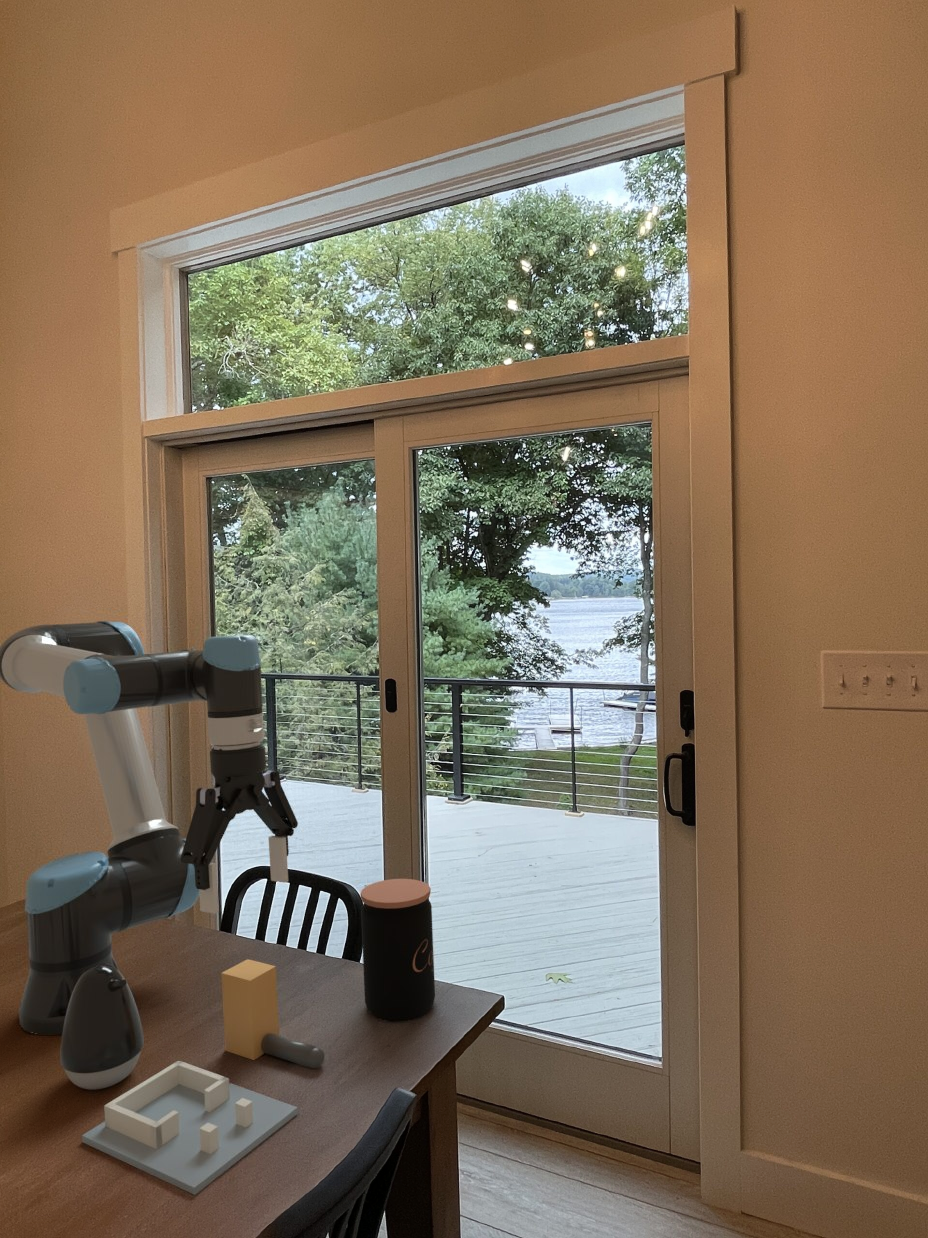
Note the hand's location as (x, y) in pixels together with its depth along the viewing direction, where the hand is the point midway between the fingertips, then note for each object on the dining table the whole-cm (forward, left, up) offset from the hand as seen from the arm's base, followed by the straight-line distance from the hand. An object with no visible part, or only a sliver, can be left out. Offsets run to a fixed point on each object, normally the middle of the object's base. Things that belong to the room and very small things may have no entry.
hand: (246, 896), depth 121 cm
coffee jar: (+12, +19, -21) cm, 31 cm away
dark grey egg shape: (-12, -15, -21) cm, 29 cm away
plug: (+5, 0, -21) cm, 22 cm away
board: (+7, -17, -21) cm, 28 cm away
